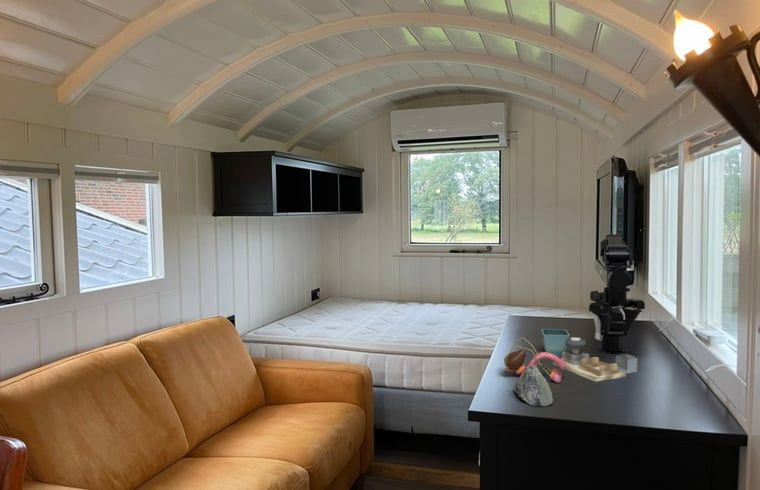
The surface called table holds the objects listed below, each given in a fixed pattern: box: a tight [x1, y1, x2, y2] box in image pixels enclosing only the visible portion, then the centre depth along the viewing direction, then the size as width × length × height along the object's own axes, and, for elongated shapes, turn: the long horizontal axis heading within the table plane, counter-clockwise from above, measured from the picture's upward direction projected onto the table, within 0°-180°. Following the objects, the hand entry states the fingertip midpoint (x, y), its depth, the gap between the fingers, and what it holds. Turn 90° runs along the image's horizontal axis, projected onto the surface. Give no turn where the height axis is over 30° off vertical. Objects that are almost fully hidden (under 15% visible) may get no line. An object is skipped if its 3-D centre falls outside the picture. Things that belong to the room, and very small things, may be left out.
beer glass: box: [593, 301, 604, 342], centre depth 214 cm, size 7×7×15 cm
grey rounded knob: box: [565, 336, 587, 355], centre depth 180 cm, size 6×6×5 cm
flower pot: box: [541, 328, 570, 359], centre depth 191 cm, size 9×9×9 cm
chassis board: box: [552, 350, 627, 382], centre depth 174 cm, size 12×20×4 cm, turn 19°
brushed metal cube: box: [615, 353, 638, 374], centre depth 173 cm, size 4×5×5 cm
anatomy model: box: [503, 337, 566, 384], centre depth 167 cm, size 11×15×17 cm
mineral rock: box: [513, 365, 554, 407], centre depth 149 cm, size 13×11×10 cm
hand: (617, 332), depth 174 cm, fingers open, 9 cm apart
